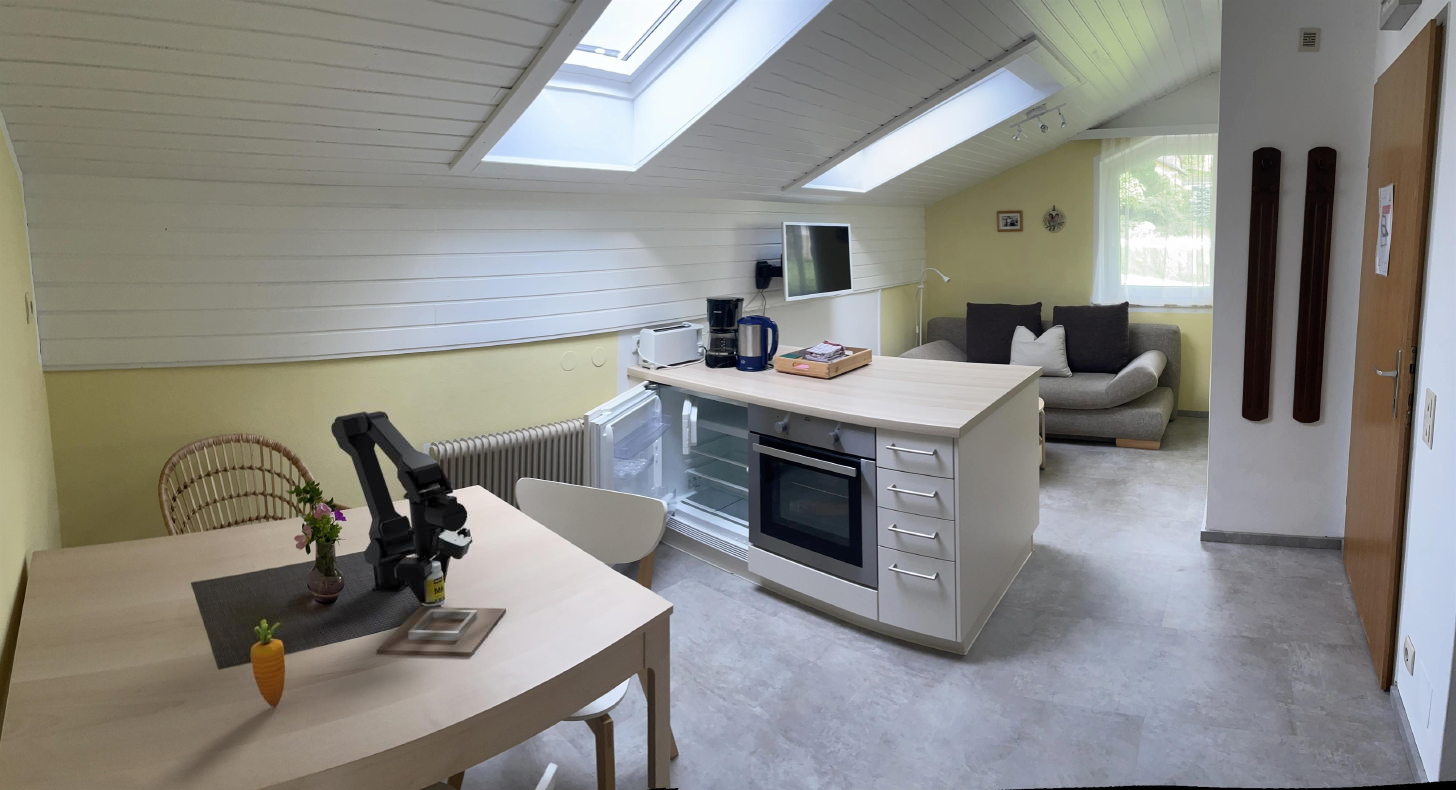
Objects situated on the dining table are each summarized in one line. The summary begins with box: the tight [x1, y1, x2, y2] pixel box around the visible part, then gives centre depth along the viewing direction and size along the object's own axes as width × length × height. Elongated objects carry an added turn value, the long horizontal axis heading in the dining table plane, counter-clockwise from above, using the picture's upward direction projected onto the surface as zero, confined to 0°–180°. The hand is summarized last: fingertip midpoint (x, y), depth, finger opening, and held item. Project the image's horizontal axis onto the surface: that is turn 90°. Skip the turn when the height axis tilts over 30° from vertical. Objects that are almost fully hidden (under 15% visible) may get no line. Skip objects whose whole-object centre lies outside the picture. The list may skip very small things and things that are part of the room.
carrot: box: [250, 619, 286, 708], centre depth 136 cm, size 5×5×15 cm
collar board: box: [375, 606, 507, 657], centre depth 162 cm, size 18×18×2 cm
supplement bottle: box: [421, 561, 446, 607], centre depth 175 cm, size 5×5×8 cm
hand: (432, 593), depth 175 cm, fingers open, 9 cm apart
